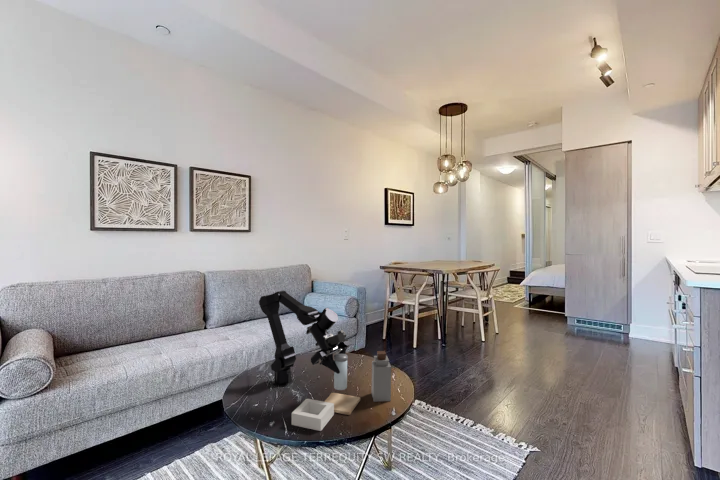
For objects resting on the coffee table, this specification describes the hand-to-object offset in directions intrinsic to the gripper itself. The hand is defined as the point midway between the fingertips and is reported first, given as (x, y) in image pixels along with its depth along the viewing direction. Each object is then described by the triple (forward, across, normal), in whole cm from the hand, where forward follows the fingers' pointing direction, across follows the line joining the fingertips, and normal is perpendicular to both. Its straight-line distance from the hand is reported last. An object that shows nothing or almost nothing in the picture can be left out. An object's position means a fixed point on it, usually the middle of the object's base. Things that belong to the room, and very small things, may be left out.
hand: (343, 370), depth 130 cm
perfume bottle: (+15, +14, +4) cm, 21 cm away
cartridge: (+4, 0, +6) cm, 7 cm away
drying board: (+8, 0, +10) cm, 13 cm away
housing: (+8, -14, +11) cm, 19 cm away
